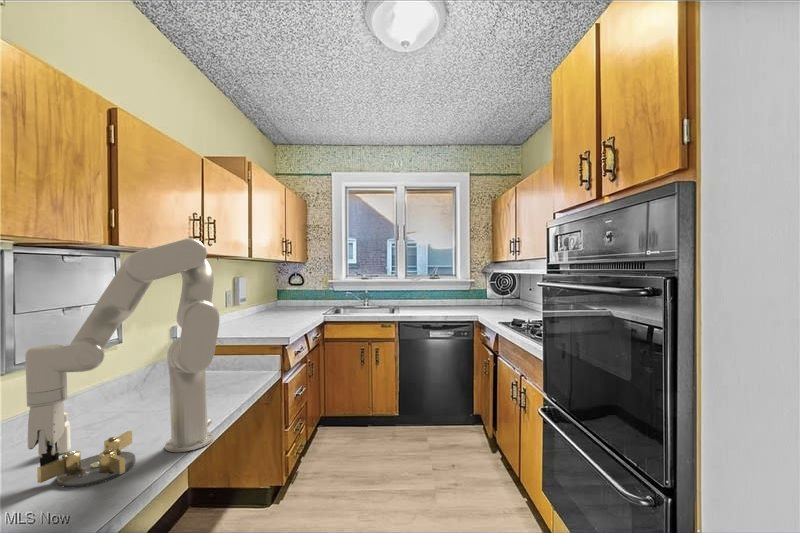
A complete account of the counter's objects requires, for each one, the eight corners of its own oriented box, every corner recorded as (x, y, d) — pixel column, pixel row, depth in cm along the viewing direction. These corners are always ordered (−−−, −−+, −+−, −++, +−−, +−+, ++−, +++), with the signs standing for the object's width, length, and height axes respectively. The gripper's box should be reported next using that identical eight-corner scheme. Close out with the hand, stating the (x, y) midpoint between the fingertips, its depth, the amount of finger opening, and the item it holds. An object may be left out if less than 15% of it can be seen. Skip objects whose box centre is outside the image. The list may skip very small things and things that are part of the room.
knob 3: (96, 470, 100) (95, 451, 100) (112, 464, 103) (112, 446, 103) (114, 478, 96) (113, 458, 96) (130, 471, 99) (130, 452, 99)
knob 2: (114, 458, 107) (114, 440, 107) (101, 458, 107) (100, 441, 107) (136, 444, 116) (136, 427, 116) (124, 444, 116) (123, 428, 116)
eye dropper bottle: (77, 446, 120) (76, 405, 121) (64, 454, 115) (64, 412, 115) (61, 447, 120) (60, 407, 120) (47, 456, 114) (46, 413, 114)
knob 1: (74, 466, 103) (74, 447, 103) (84, 467, 102) (83, 449, 102) (34, 483, 95) (33, 463, 95) (44, 485, 94) (44, 465, 94)
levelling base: (91, 458, 112) (90, 448, 112) (148, 456, 112) (148, 446, 112) (39, 488, 96) (38, 478, 96) (106, 486, 96) (105, 475, 96)
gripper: (38, 391, 104) (40, 462, 104) (15, 407, 91) (17, 489, 90) (74, 386, 107) (77, 455, 107) (57, 401, 94) (60, 480, 94)
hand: (49, 470), depth 99 cm, fingers closed
